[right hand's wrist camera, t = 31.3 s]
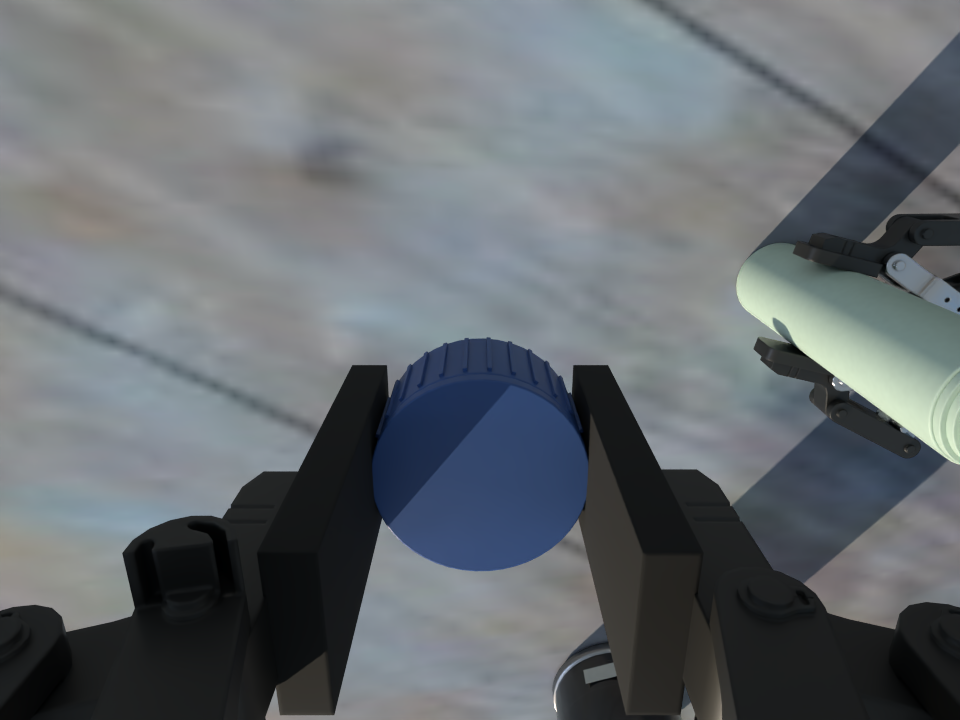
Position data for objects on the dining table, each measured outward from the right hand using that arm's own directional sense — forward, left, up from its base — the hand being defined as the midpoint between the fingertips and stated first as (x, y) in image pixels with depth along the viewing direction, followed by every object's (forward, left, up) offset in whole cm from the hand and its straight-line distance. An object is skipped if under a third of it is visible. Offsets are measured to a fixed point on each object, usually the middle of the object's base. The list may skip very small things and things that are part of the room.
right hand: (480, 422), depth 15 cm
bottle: (+3, +19, -27) cm, 33 cm away
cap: (0, 0, +2) cm, 2 cm away
